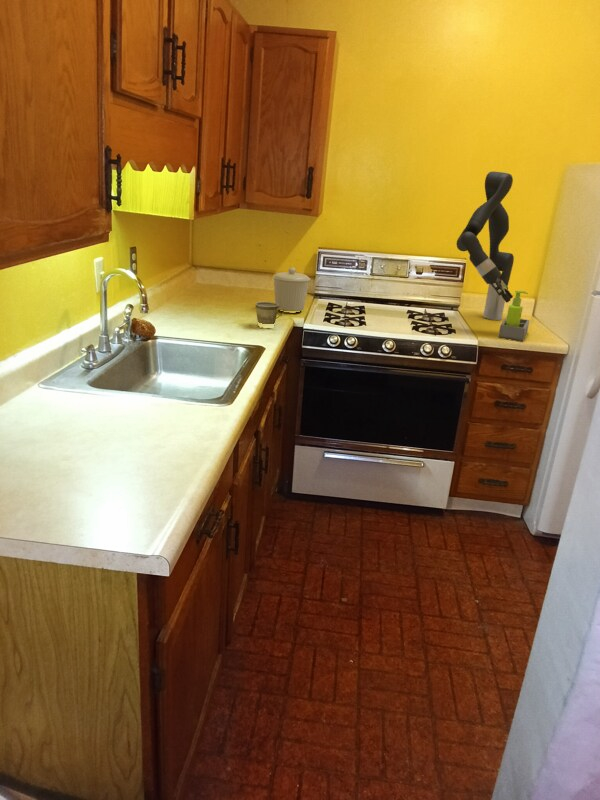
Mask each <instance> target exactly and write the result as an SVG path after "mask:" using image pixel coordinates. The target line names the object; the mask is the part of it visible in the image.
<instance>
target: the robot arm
mask: <svg viewBox="0 0 600 800" xmlns="http://www.w3.org/2000/svg"><path fill="white" fill-rule="evenodd" d="M513 180H514V179H513V176H512V174H510V173H507V172H501V171H489V172H488V173H487V174H486V176H485V179H484V191H485V197H486V202H484V203H483V204H481V205H480V206H478V207H477V208H476V210H474V212H473V213H472V215H471V217H470V218H469V220H468V222H467V224H466V227H465V228H464V229H463V230H462V232H461V233H460V235H459V236H458V238H457V240H456V247H457V249H458V250H459V251H461V252H468V254H469V261H470V262H471V263H472V265H473V266H474V268H475V269H476V270H477V273H478V274H479V276H480V277H481V278H482V280H483V281H484V282H485V284H486V285H488V287H487V294H486V299H485V304H484V308H483V309H484V310H483V314H482V315H483V318H484V319H486V318H487V319H486V320H493V321H501V320H502V319H503V314H504V310H505V309H504V308H505V303H509V302H511V300H512V299H513V298H514V297H513V296H514V295H513V294H512V293H511V292H510V291H509V287H508V286H509V283H510V278H511V276H512V275H511V274H512V271H513V266H514V262H515V261H514V260H515V256H514V254H512V253H510V252H503V251H500V250H499V247H500V244H501V243H502V241H503V240H504V239H505V237H506V236H507V234H508V232H509V230H510V219H509V218H510V217H509V214H508V211H507V210H506V209H505V207H504V206H503V204H502V201H503V200H504V199H505V197H506V196H507V195H508V193H510V191H511V188H512V186H513V183H514V181H513ZM487 222H488V232H489V233H488V234H489V235H488V236H489V253H488V254H489V255H487V253H486V252H485V250H484V249H483V246H482V244H481V242H480V240H479V238H478V235H479V234H480V233H481V232H482V230H483V229H484V227H485V225H486V223H487Z"/></svg>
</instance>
